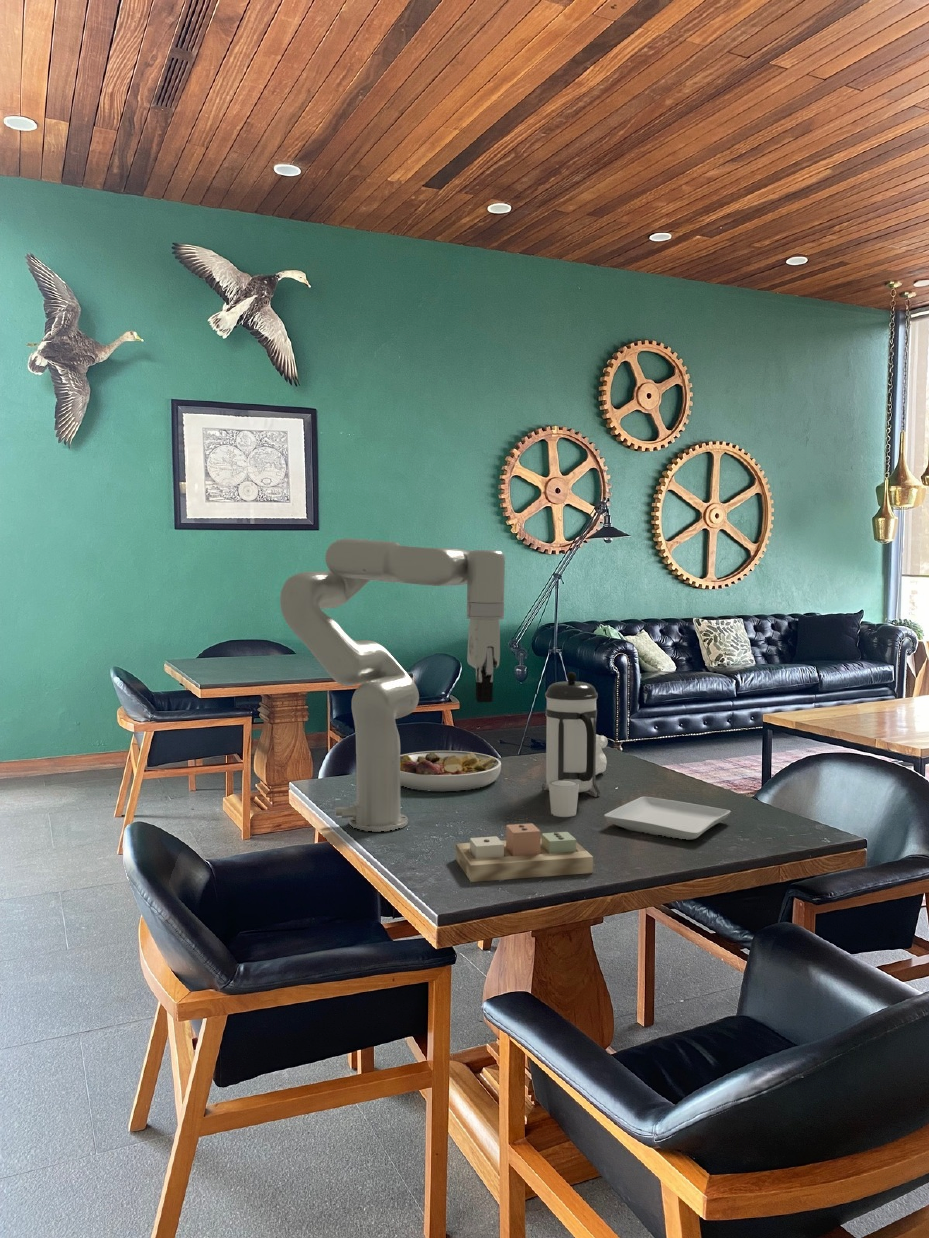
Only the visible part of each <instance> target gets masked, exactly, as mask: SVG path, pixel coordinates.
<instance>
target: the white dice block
mask: <svg viewBox="0 0 929 1238" xmlns="http://www.w3.org/2000/svg"><path fill="white" fill-rule="evenodd" d="M501 841H502V840H501V839H500V838H499V837H498V836H496V835H495V836H483V837H470V838H469V843H470V853H471V854H472V856H473V857H474V859H478V858H492V857H504V844H503V843H502V842H501Z"/></svg>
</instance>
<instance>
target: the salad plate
mask: <svg viewBox="0 0 929 1238" xmlns="http://www.w3.org/2000/svg"><path fill="white" fill-rule="evenodd" d="M730 814H731V810H729V809H725V808H719V807H715V806H714V807H713V806H708V805H703V804H695V803H690V802H685V801H679V800H672V799H664V798H660V797H651V796H640V797H638V798H636V799H634V800H631V801H629V802H627V803H625V804H623V805H621V806H619V807H617V808H615V809H613V810H611V811H609V812H607V813H605V814H604V815H603V817H604V818H605V819H606V820H607V821H608V822H609V823H611V824H612V825H615V826H617V827H620V828H624V829H626V830H628V831H631V832H632V831H633V832H637V833H642V832H644V833H643V834H647V833H649V835H653V836H658V835H662V836H661V837H664V836H666V838H670V837H672V838H671V839H675V838H679V839H678V840H682V839H686V841H687V840H695V839H697V838H699V837H700V836H701V835H702V834H704V833H705V832H706V831H708V830H709V829H711V828H713V827H714V826H715V825H717V824H719V823H721V822H722V821H724V820H725V819H727V818H728V816H729V815H730Z"/></svg>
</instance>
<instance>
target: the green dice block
mask: <svg viewBox="0 0 929 1238" xmlns="http://www.w3.org/2000/svg"><path fill="white" fill-rule="evenodd" d="M576 842H577V839H576V838H575V837H574V836H573V835H571V833H570V832H568V831H561V832H560V831H557V832H543V833H542V832H541V847H542V848H543V849H544V850H545V851H546V852H547V853H548V854H550V853H564V852H576Z"/></svg>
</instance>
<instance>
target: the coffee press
mask: <svg viewBox="0 0 929 1238" xmlns="http://www.w3.org/2000/svg"><path fill="white" fill-rule="evenodd" d="M566 678H567V681H565V680H564V681H558V682H554V683H552V684H550V685H549V686H548V688H547V690H546V692H545V693H544V695H545V698H546V707H545V716H546V731H545V732H546V735H545V736H546V743H545V744H546V747H545V749H546V750H545V751H546V753H545V754H546V758H545V759H546V760H545V762H546V763H545V767H546V768H545V769H546V770H545V773H546V774H545V776H546V777H545V781H544V783H542V786H541V789H542V790H543V791H547V790H549V782H551V781H555V780H570V781H575V782H577V783H579V790H578V793H583V792H586V793H587V792H588V793H590V795H591V796H592V797H594V798H596V797H597V798H598V796H600V795H601V792H600V790H599V789H598V786H597V783H596V775H595V774H596V735H597V717H598V708H597V699H598V697H599V696H598V695H599V694H598V692H597V691H596V688H595V687H594V685H592V684H590V683H587V682H584V681H575V680H576V679H577V675H576V673H575V672H573V671H570V672H568V673H567V675H566ZM545 785H546V786H548V787H547V788H546V787H545ZM593 788H594V790H595V792H596V793H597V795H596V793H595V792H594V791H593V790H592V789H593Z"/></svg>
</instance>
